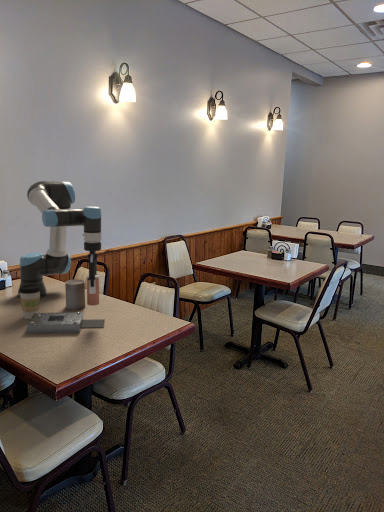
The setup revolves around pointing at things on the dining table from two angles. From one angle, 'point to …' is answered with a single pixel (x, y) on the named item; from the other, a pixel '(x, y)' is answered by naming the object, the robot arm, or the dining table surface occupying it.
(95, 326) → the mat
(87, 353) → the dining table surface
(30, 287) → the coffee cup
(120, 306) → the dining table surface
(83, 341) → the dining table surface
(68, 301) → the pillar candle
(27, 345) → the dining table surface
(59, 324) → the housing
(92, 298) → the pink round peg
